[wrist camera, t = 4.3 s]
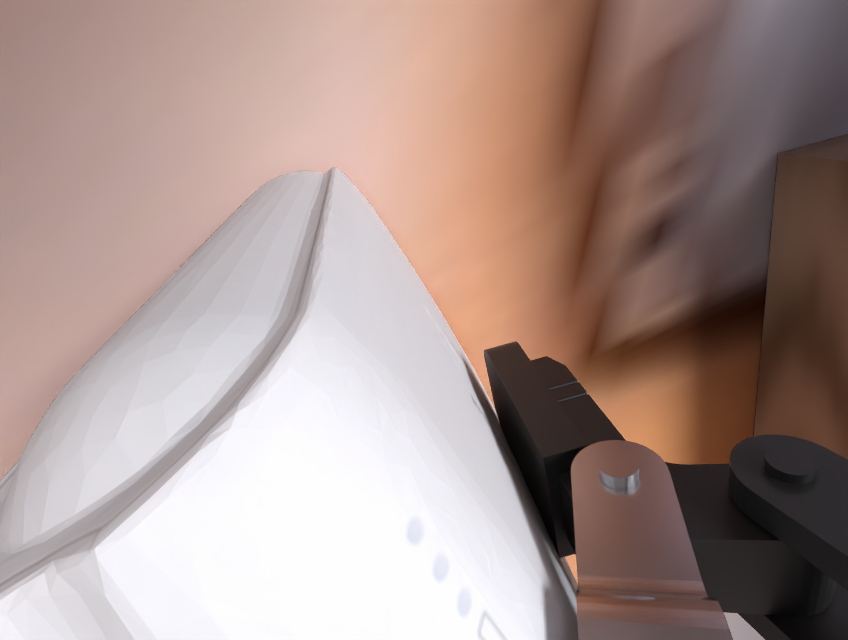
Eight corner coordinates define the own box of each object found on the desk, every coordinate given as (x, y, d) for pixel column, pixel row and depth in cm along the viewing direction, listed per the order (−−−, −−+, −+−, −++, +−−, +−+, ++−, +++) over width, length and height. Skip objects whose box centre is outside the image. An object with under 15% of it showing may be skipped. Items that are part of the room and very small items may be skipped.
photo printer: (504, 408, 17) (808, 1020, 6) (398, 465, 17) (485, 1143, 6) (340, 135, 12) (228, 421, 1) (204, 220, 13) (-808, 1019, 2)
